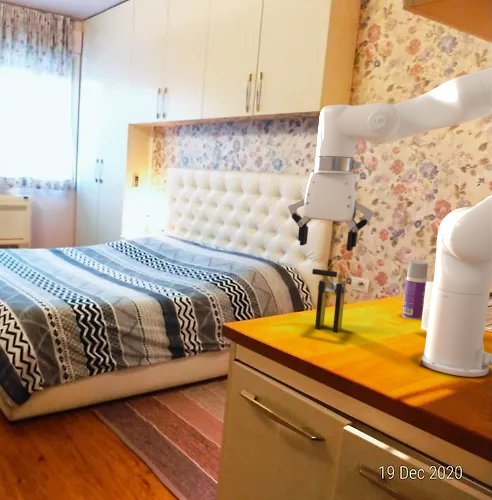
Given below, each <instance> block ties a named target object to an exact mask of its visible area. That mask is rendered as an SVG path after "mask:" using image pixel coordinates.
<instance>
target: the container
mask: <svg viewBox="0 0 492 500" xmlns="http://www.w3.org/2000/svg"><path fill="white" fill-rule="evenodd" d="M428 267H429V263H428V262H426V261H420V260H409V261H408V266H407V273H406V279H405V289H404V298H403V305H402V306H403V308H402V315H401V316H402V317H403V318H404V319H410V320H416V321H422V314H423V305H424V296H425V287H426V282H427V281H428V280H427V279H428Z"/></svg>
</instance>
